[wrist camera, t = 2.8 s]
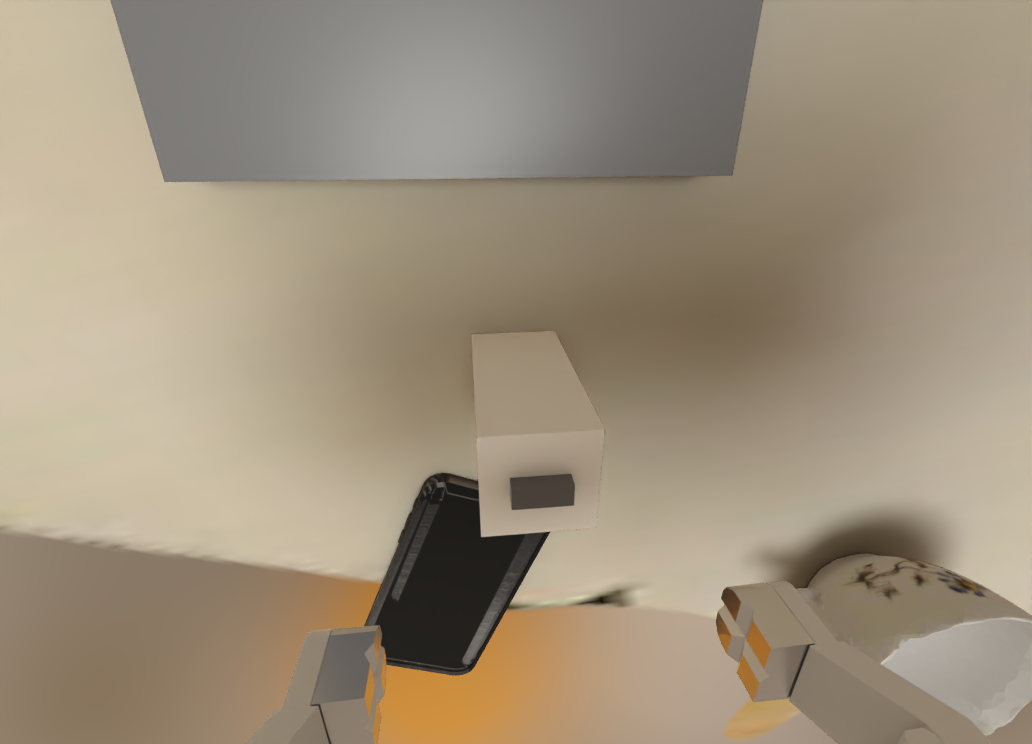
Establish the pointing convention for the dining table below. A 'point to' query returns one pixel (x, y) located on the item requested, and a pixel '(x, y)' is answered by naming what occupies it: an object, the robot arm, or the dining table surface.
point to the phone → (448, 581)
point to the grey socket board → (440, 87)
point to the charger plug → (533, 436)
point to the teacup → (931, 631)
